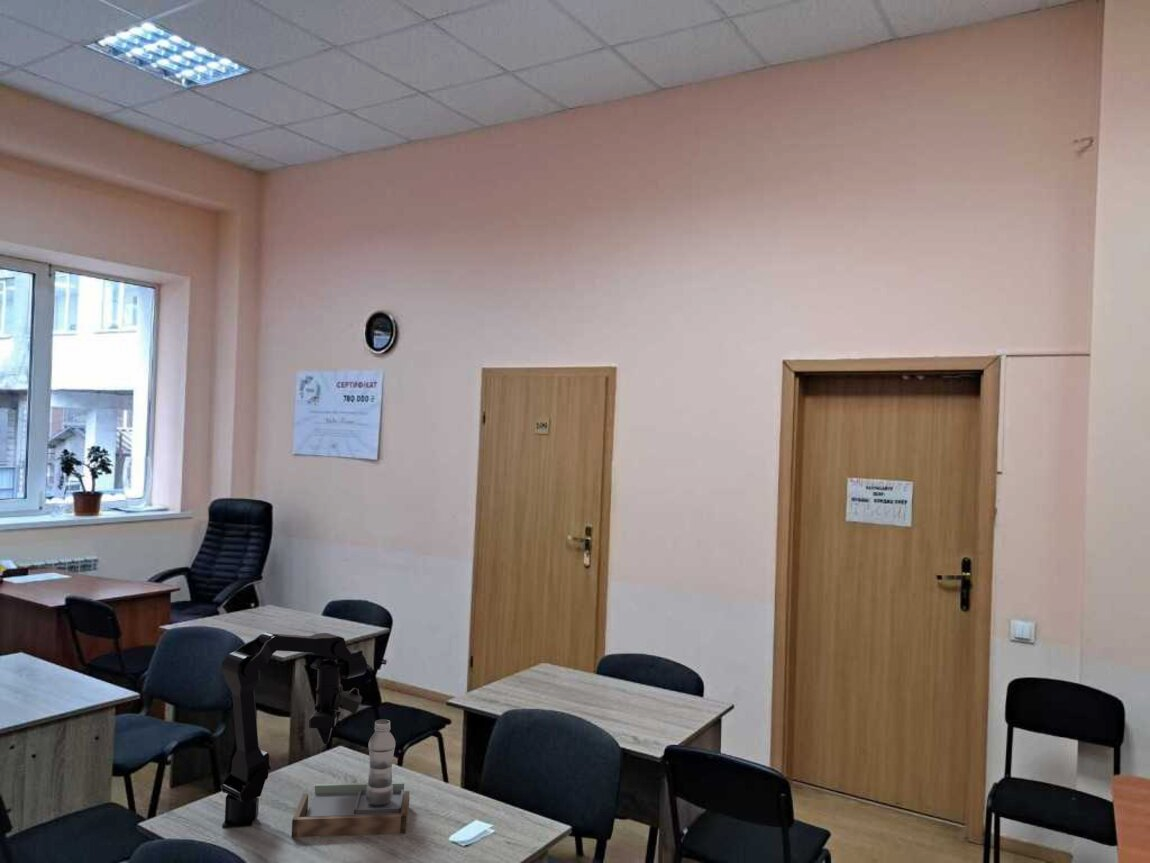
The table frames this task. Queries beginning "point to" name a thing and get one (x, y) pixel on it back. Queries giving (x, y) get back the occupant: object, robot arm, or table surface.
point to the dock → (348, 822)
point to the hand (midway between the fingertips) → (326, 743)
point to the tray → (351, 800)
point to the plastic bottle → (380, 764)
